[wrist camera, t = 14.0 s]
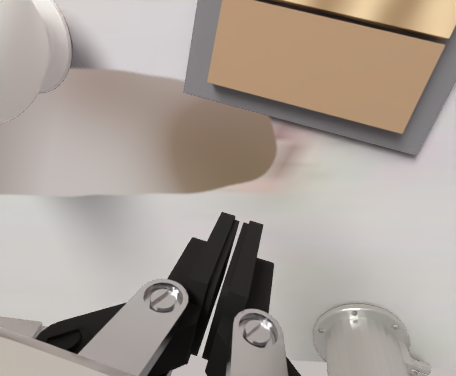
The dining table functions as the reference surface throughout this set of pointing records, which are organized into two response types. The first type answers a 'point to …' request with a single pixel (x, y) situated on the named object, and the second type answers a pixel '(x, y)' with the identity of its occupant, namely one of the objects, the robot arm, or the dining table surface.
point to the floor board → (312, 116)
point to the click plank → (391, 14)
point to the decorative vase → (30, 53)
